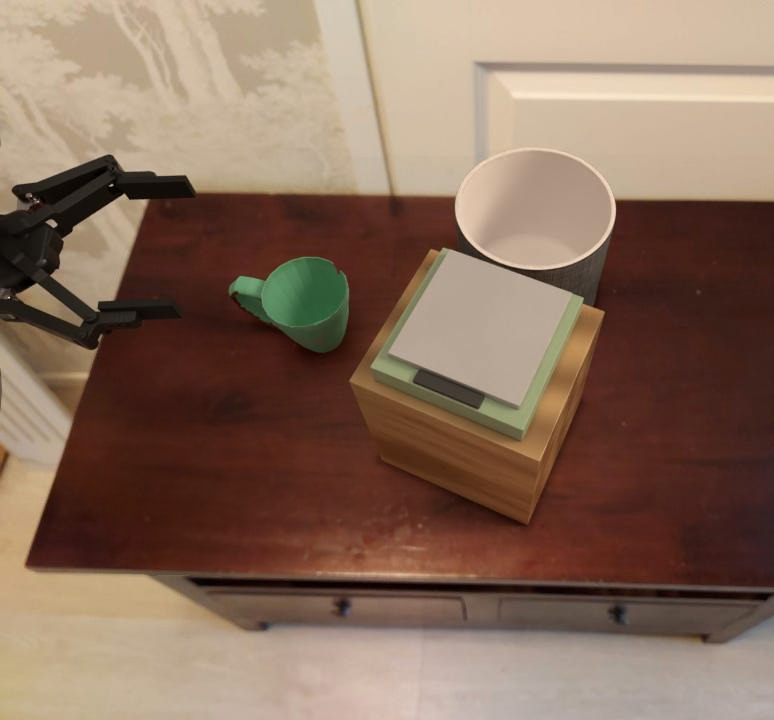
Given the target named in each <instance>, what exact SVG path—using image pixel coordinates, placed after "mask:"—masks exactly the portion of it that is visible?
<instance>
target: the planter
mask: <svg viewBox="0 0 774 720" xmlns="http://www.w3.org/2000/svg"><path fill="white" fill-rule="evenodd" d="M616 217H617V202H616V199H615V195H614V192H613V190H612V188H611V186H610V184H609V183H608V181H607V180H606V178H605V177H604V176H603V175H602V174H601V172H599V171H598V169H596V168H595V167H594V166H593V165H591V164H590V163H589V162H587V161H586V160H584V159H582V158H580V157H578V156H576V155H574V154H571V153H568V152H566V151H562V150H559V149H554V148H548V147H539V146H528V147H527V146H526V147H518V148H511V149H507V150H504V151H501V152H497V153H496V154H493V155H491V156H489V157H487V158H485V159H484V160H482V161H480V162H479V163H477V164H476V165H475V166H473V167H472V169H470V171H468V172H467V174H466V175H465V176H464V177H463V179H462V180H461V182H460V184H459V186H458V188H457V190H456V195H455V199H454V219H455V231H456V243H457V244H456V245H457V252H459V253H462V254H465V255H468V256H471V257H473V258H476V259H479V260H482V261H484V262H487V263H490V264H493V265H496V266H498V267H501V268H504V269H507V270H510V271H512V272H515V273H518V274H521V275H523V276H526V277H529V278H532V279H535V280H537V281H540V282H543V283H546V284H549V285H551V286H554V287H557V288H560V289H562V290H565V291H568V292H571V293H572V294H574V295H577V296H580V297H583V298H584V300H583V304H585V305H588V306H590V307H593V308H594V305H595V302H596V297H597V292H598V287H599V284H600V280H601V277H602V273H603V269H604V265H605V262H606V259H607V253H608V249H609V246H610V242H611V239H612V236H613V235H612V234H613V230H614V227H615V222H616Z"/></svg>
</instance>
